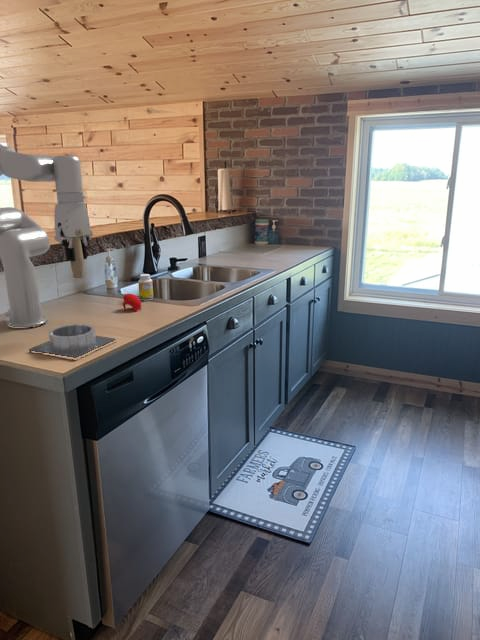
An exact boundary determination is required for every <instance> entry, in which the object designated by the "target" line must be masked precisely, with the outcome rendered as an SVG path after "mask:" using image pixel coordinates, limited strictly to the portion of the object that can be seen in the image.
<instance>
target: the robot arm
mask: <svg viewBox="0 0 480 640" xmlns="http://www.w3.org/2000/svg"><path fill="white" fill-rule="evenodd" d="M81 169H82V168H81V161H80V158H79V157H78V156H76V155H70V154H69V155H67V154H65V155H46V154H45V155H44V154H30V153H29V154H28V153H21V152H16V150H15V149H14V148H13V147H11V146H6V145H3V144H1V143H0V177H1V176H2V175H4V176H6V177H7V178H10V179H14V180H20V181H25V182H34V183H36V182H37V183H40V182H44V183H45V182H48V183H51V182H55V183H54V185H55V192H56V201H57V202H56V204H55V205H54V233H55V236H54V239H53V240H54V241H56V242H58V243H59V244H60V245H61V246H62V248H63V249H64V251H65V258H66V262H71V261H75V253H74V248H72V238H74V237H80V238H81V246H82V252H83V259H84V260H87V259H88V254H87V246H88V244H89V241H90V239H91V238H92V237H93V236H94V234H93V232H92V230H91V224H90V216H89V213H88V208H87V206H86V203H85V201H84V200H85V199H86V196H85V194H84V190H83V181H82V180H83V179H82V171H81ZM79 229H83V231H84V233H83V234H81V235H79V236H77V235H75V231H76V230H79ZM78 234H79V231H78ZM50 247H51V240H50V236H49V235H48V233H47V231H46V230H45V229H44V228H42V226H40V225H39V224H38V223H36V222H35V221H34V220H33V219H32V218H31V217H30V216H29V215H28V214H26V212H24V211H23V210H21V209H19V208H16V207H0V260H1V264H2V267H3V273H4V280H5V284H6V290H7V298H8V303H9V304H8V305H9V308H8V310H7V311H6V312H4V316H5V317H9V320H8V321H7V322H6V325H7V324H8V325H10V326H13V327H33V326H37V327H39V326H38V325H41V324H43V325H45V324H46V323H45V322H47V323H48V317H46V316H45V315H43V314H42V313H43V312H42V307H41V298H40V291H39V283H38V276H37V270H36V268H35V265H34V264H33V262H32V261H31V259H30V258H31V257H37V256H41V255H43V254H45V253H48V251H49V249H50ZM9 323H11V324H9ZM44 323H45V324H44ZM41 326H42V325H41ZM33 328H34V327H33Z"/></svg>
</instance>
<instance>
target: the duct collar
mask: <svg viewBox="0 0 480 640" xmlns="http://www.w3.org/2000/svg"><path fill="white" fill-rule="evenodd" d="M48 337H49V340H47V341H45V342H42V343H40V344H39V345H36V346H33V347H30V348H29V349H28V351H29V350H30V351H35V352H42V353H49V354H55V355H61V356H67V357H73V358H77V357H79V356H82V355H84V354H86V353H88V352H90V351H92V350H94V349H96V348H99V347H101V346H104V345H106V344H108V343H110V342H113V341H114V340H116V338H114V337H108V336H101V335H96V329H95V326H93V325H90V324H85V323H83V324H81V323H80V324H79V323H78V324H77V323H75V324H66V325H62V326H57V327H55V328H53V329H50V331H48ZM116 341H117V340H116Z"/></svg>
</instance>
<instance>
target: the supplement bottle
mask: <svg viewBox="0 0 480 640" xmlns="http://www.w3.org/2000/svg"><path fill="white" fill-rule="evenodd" d="M137 282H138V296H139V297H138V298H139V299H140V301H142V300H143V302H148V301H149V302H150V301H153V299H154V287H153V286H154V285H153V279H151V274H149V273H142V274H139V280H138V281H137Z"/></svg>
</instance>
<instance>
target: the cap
mask: <svg viewBox="0 0 480 640" xmlns="http://www.w3.org/2000/svg"><path fill="white" fill-rule="evenodd" d="M122 299H123V301H122V306H123V309H125V310H124V311H126V310H127V308H126V305H128V306H131V307H132V309H133V310H134V311H135V312H137V310H140V311H141V309H142V300H140V298H139V297H138V296H137V295H136V294H134V293H126V294H124V295H123V298H122Z"/></svg>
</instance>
